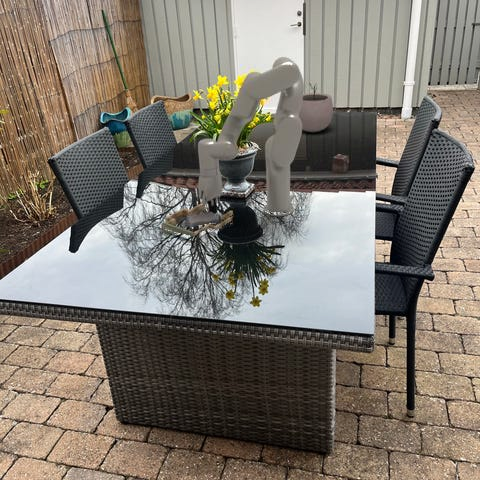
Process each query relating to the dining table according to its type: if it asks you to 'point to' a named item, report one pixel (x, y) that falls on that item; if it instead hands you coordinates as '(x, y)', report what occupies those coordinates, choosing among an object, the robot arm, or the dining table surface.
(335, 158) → the box
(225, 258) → the dining table surface
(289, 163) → the robot arm
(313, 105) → the plant pot
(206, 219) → the stone block
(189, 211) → the box
